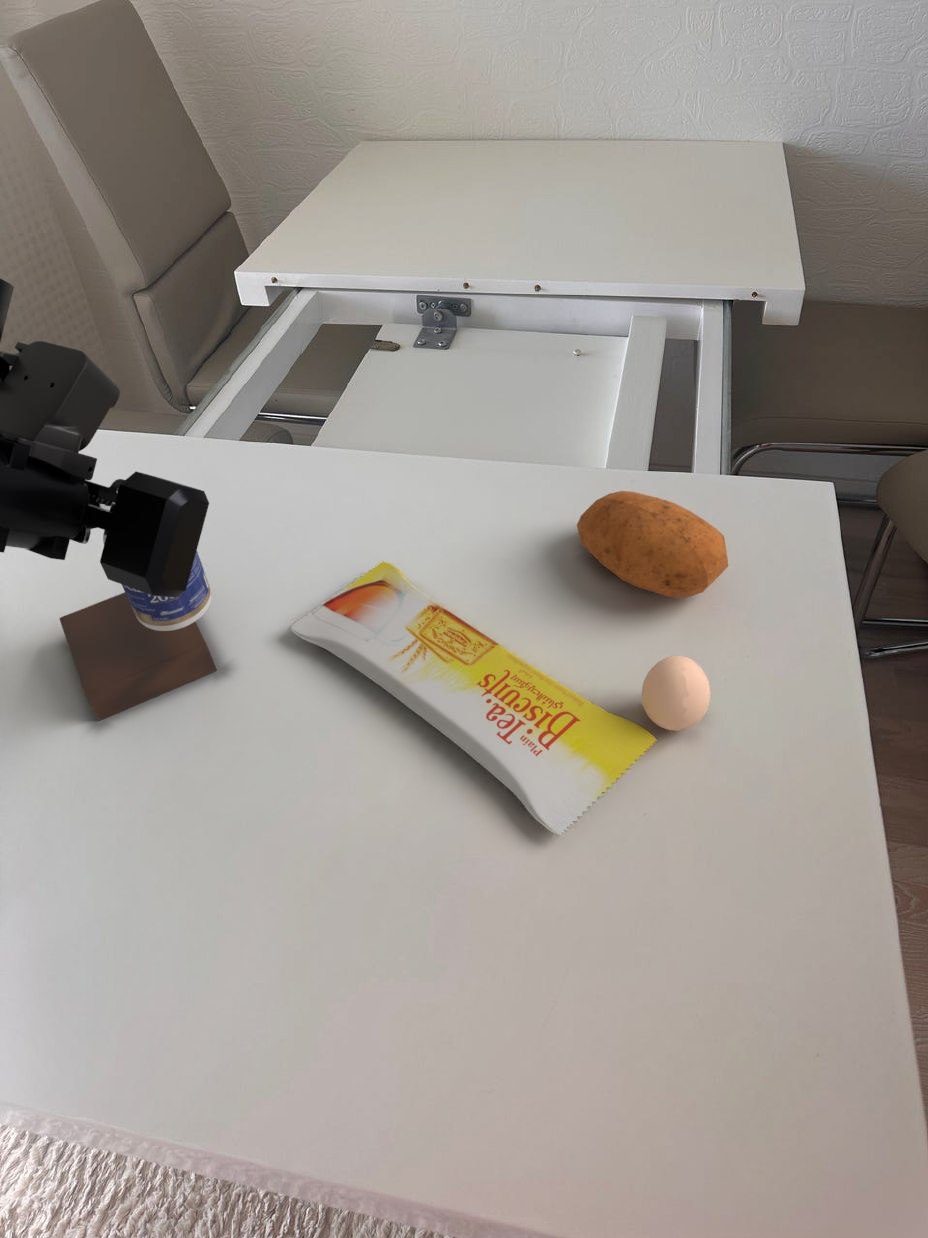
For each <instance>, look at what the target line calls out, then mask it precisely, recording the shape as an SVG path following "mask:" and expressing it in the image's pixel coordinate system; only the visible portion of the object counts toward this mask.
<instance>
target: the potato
mask: <svg viewBox="0 0 928 1238" xmlns="http://www.w3.org/2000/svg"><path fill="white" fill-rule="evenodd" d="M576 528H577V532H578V536H579V540H580V543H581V546H582V547H583V548H584V549H585V550H586V551H587V552H589V553H590V554H591V555H592V556H593V557H594V558H595V559H596V560H597V561H598V562H599V563H600V565H602V566H604V567H605V568H606V569H607V570H609V572H611V573H612V574H614V575H615V576H616V577H618V578H619V579H620V580H622V581H623V582H624V583H627V584H628V585H631V586H633V587H636V588H638V589H641V590H645V591H648V592H651V593H652V592H653V593H656V594H657V595H661V596H663V597H667V598H675V599H687V598H690V597H692V596H695V595H696V596H697V595H698V594H701V593H704V592H705V590H706V589H708V588H709V587H710V585H712V584H713V583H714V582H715V581H716V580H717V579H718V578H719V577H720V576H721V575H722V573H724V572H725V570H727V568H728V567H729V559H728V553H727V545H726V540H725V535H724V534H723V533H722V532H721V531H720V530H718V529H717V528H716V527H715V526H714V525H712V524H711V523H709V522H708V521H706V520H705V519H703V518H702V517H700V516H699V515H698V514H695V513H694V512H692V511H691V510H689V509H687V508H685V507H683V506H681V505H679V504H677V503H675V502H672V501H670V500H666V499H664V498H659V497H658V496H657V497H656V496H653V495H648V494H643V493H639V492H636V491H627V490H619V491H615V492H611V493H608V494H606V495H604V496H602V497H600V498H598V499H596V500H595V501H594V502H593V503H591V504H590V506H589V507H588V508H587V509H586V510H585V511H583V513H582V514H581V515H580V516H579V519H578V522H577V523H576Z"/></svg>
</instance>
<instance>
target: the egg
mask: <svg viewBox="0 0 928 1238" xmlns="http://www.w3.org/2000/svg"><path fill="white" fill-rule="evenodd" d="M710 686H711V685H710V682H709V678H708V677H707V675H706V672H704V670H703V668H702V667H701V666H700V665H699V664H698V663H697V662H696V661H695V660H693V659H691V658H690V657H687V656H683V655H670V656H666V657H665V658H663V659H661V660H659V661H658V662H656V663H655V664H654V665H653V666H652V667H651V668H650V669H649V671H647V674H646V675H645V678H644V680H643V683H642V687H641V696H640V697H641V704H642V707H643V710H644V712H645V713H646V715H647V716H648V718H649V719H650V720H651V721H652V722H653V723H654V724H655V725H656V726H658V727H660V728H662V729H665V730H669V731H676V732H677V731H678V732H679V731H685V730H687V729H690V728H692V727H694V726H696V725H697V724H698V723H699V722H700V721H701V720H702V719H703V718H704V717H705V716H706V714H707V711H708V709H709V706H710V702H711V687H710Z"/></svg>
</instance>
